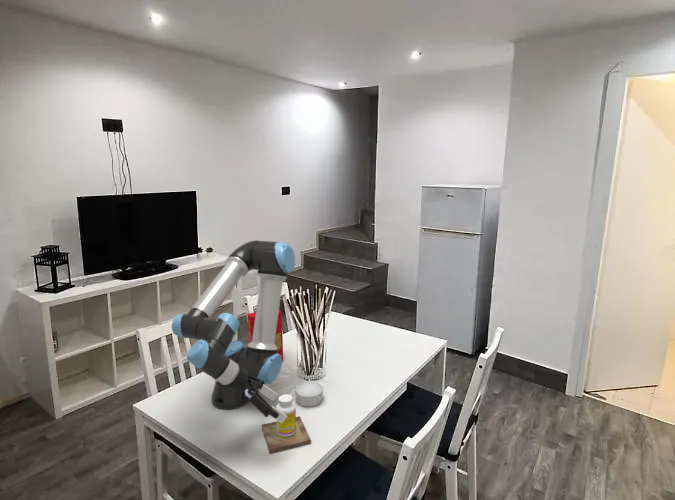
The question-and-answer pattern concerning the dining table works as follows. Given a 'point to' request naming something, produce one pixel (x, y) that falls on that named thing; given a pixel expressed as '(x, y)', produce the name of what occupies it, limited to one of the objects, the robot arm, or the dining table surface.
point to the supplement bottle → (290, 411)
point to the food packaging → (278, 331)
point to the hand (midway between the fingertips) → (279, 408)
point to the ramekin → (309, 393)
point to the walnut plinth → (284, 443)
